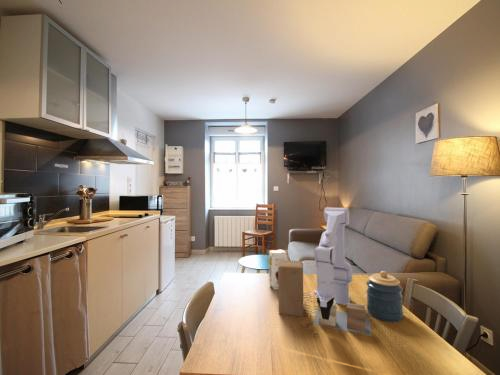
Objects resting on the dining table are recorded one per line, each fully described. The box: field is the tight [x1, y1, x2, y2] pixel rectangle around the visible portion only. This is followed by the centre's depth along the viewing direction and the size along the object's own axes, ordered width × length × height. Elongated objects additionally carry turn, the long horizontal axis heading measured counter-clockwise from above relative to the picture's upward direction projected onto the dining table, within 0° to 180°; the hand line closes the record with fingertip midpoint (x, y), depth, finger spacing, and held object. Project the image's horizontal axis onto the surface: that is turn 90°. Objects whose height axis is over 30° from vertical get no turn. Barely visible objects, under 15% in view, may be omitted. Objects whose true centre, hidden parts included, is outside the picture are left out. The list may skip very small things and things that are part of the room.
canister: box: [366, 270, 404, 323], centre depth 97 cm, size 13×13×18 cm
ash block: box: [317, 301, 337, 327], centre depth 91 cm, size 4×6×8 cm, turn 67°
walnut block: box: [346, 302, 366, 333], centre depth 87 cm, size 4×6×8 cm, turn 67°
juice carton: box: [268, 248, 288, 291], centre depth 126 cm, size 8×9×19 cm
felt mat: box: [312, 307, 373, 337], centre depth 92 cm, size 14×20×1 cm
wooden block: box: [277, 259, 304, 317], centre depth 101 cm, size 10×10×20 cm
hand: (325, 318), depth 85 cm, fingers closed
